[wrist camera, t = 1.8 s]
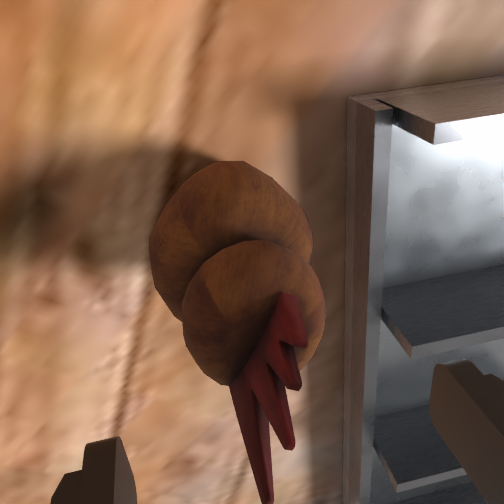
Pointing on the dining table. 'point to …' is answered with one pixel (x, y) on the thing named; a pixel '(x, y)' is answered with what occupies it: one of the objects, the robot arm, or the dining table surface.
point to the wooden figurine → (242, 294)
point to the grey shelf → (418, 279)
